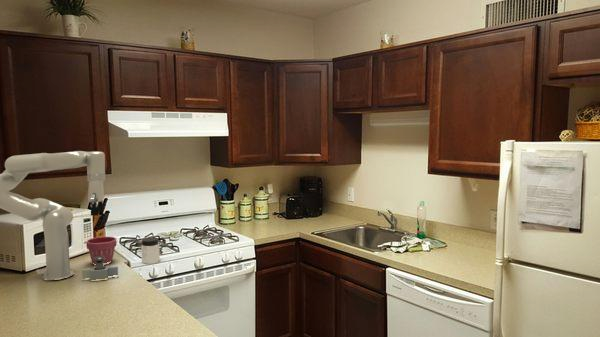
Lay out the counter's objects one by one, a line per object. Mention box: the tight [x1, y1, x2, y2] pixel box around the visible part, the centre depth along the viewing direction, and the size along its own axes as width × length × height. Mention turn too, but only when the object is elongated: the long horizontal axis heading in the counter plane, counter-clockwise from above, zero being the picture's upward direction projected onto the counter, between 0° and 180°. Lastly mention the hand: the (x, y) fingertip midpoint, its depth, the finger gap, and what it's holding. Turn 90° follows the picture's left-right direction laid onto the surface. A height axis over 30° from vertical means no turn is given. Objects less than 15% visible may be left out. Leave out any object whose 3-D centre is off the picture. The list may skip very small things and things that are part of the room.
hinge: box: [81, 264, 119, 281], centre depth 193 cm, size 15×7×5 cm, turn 105°
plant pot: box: [85, 236, 118, 264], centre depth 216 cm, size 14×14×13 cm
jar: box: [140, 237, 161, 265], centre depth 220 cm, size 9×8×12 cm
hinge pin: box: [94, 256, 105, 270], centre depth 193 cm, size 5×5×10 cm
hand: (97, 213), depth 198 cm, fingers open, 9 cm apart
